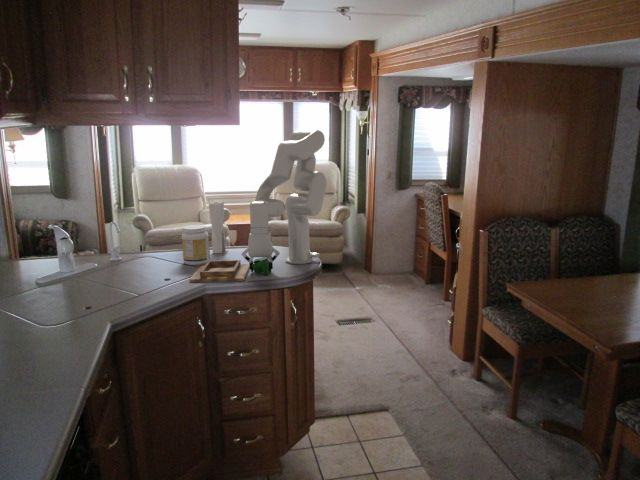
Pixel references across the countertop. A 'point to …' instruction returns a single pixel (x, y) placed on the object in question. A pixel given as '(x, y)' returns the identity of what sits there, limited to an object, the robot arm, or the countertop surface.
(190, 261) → the supplement tub
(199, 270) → the brown shallow square tray
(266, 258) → the clamp
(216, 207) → the skyscraper
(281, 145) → the robot arm
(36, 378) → the countertop surface
